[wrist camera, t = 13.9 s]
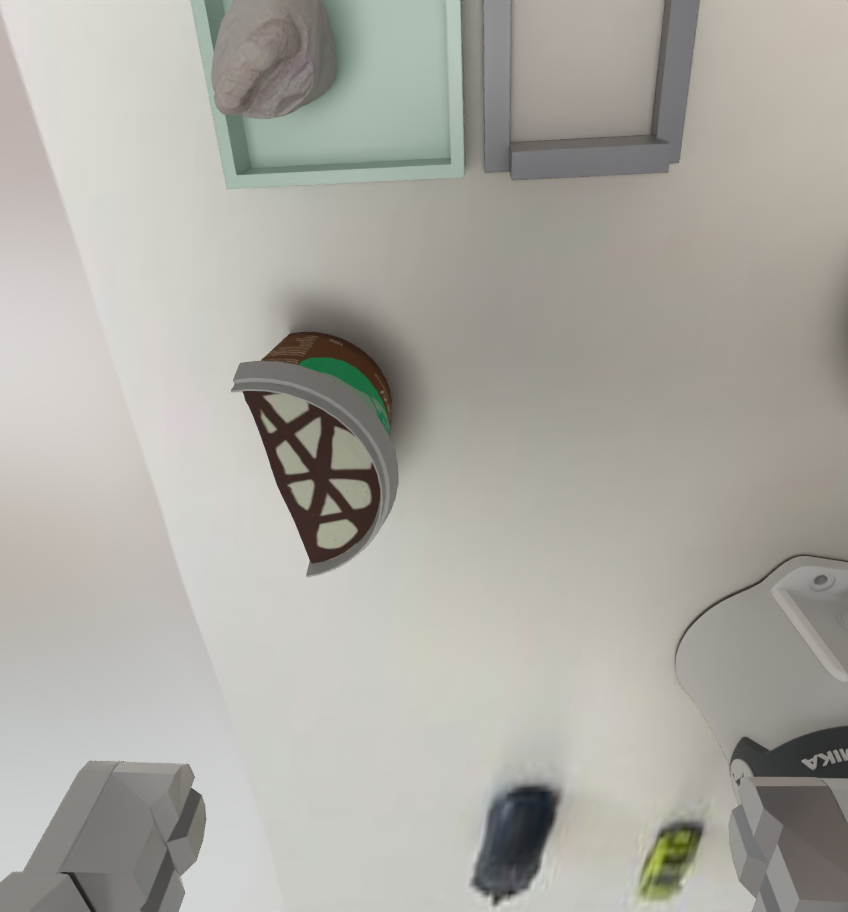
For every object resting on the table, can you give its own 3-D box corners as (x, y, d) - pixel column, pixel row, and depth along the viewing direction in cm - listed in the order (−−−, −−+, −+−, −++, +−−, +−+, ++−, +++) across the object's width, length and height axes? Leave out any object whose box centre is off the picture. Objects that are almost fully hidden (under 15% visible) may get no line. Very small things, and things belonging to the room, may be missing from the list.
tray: (459, -95, 29) (457, -111, 26) (465, 168, 34) (464, 177, 32) (200, -74, 30) (173, -87, 27) (245, 179, 35) (226, 188, 33)
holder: (706, -119, 28) (739, -145, 25) (672, 159, 34) (695, 171, 30) (482, -100, 29) (483, -122, 25) (484, 169, 34) (485, 181, 31)
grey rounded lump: (291, -38, 30) (217, -77, 21) (364, -4, 30) (321, -29, 22) (259, 99, 33) (183, 113, 24) (327, 128, 33) (276, 151, 25)
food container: (430, 470, 44) (419, 570, 35) (341, 484, 45) (309, 585, 36) (382, 288, 38) (355, 355, 29) (281, 309, 39) (226, 380, 30)
